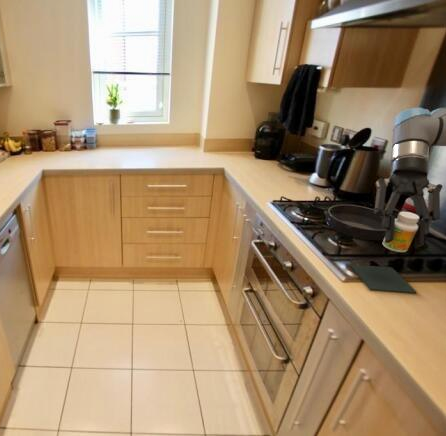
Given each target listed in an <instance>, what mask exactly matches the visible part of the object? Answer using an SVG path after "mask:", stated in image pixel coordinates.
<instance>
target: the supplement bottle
mask: <svg viewBox="0 0 446 436" xmlns="http://www.w3.org/2000/svg"><path fill="white" fill-rule="evenodd" d="M396 217H397V218H395V225H394V238H393V241H391V242H389V243H386V242H385V238H384V240H382V246H383V247H384V248H386V249H387V250H390V251H393V252H397V253H405V252H407V251H408V250H409V248H410V246H411V245H412V243H413V241H414V239H415V234H416V232H417V230H418V225H417V224H416V223H417V222H418V220H419V216H418V215H416V214H414V213H410V212H401V211H400V212H398V214H397V216H396Z"/></svg>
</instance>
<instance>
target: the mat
mask: <svg viewBox="0 0 446 436" xmlns="http://www.w3.org/2000/svg"><path fill="white" fill-rule="evenodd" d="M350 267H351V269H352V270H353V271H354V272H355V274H356V275H357V276H358V277H359V278H360V280H361V281H362V282H363V284H364V285H365V286H366V287H367V288H368V290H369V291H376V292H386V293H387V292H388V293H400V294H410V295H411V294H414V295H416V294H417V291H416V290H415V289H414V288H413V287H412V286H411V284H409V283H408V282H407V281H406V280H405V279H404V278H403V277H402V276H401V275H400V273H398V271H396V270H395V269H394V268H393V267H392V266H391V267H390V266H376V265H364V264H350Z"/></svg>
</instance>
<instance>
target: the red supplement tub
mask: <svg viewBox="0 0 446 436" xmlns="http://www.w3.org/2000/svg"><path fill="white" fill-rule="evenodd" d="M424 200H425V203H426V206H427V209H428V199H425V198H424ZM400 212H410V213H414V214H416V215H417V212H416V209H415V206H414V203H413V200H412V199H411V197H408V198H406V199H405V201H404V203H403V205H402V208H401V210H400ZM418 222H419V220H418Z"/></svg>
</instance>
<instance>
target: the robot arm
mask: <svg viewBox="0 0 446 436" xmlns="http://www.w3.org/2000/svg"><path fill="white" fill-rule="evenodd" d="M433 146H434V147H446V107H440V108H439V107H438V108H436V109H434V110H432V111H430V110H429V109H427V108H423V107H411V108H407V109H405V110H402V111H400V112H399V113H398V114H397V115H396V116H395V118H394V123H393V128H392V146H391V156H390V167H389V168H390V169H389V177H388V178H383V177H381V178H380V177H379V179H378V180H376V182H375V183H374V184H375V187H376V193H375V195H376V196H375V200H374V201H375V202H374V208H373V209H374V214H375V215H380V216H381V218H382V229H386V234H385V242H386V243H389V242H391V241H393V238H394V225H395V219H396V216H395V215H393V213H394V210H395V209H396V205H397V203H398V202H399V200H400V197H401V195H402V196H403V195H406V196H409V198H411V199H412V200H413V203H414V206H415V209H416V212H417V215H418V216H419V222H417V223H416V224H417V225H418V230H417V232H416V234H415V236H414V240H413V241H414V243H413V248H420V247H423V246H425V236H427V235H428V234H429V233H430V223H433V224H434V223H435V222H437V221H439V220H440V219H441V198H440V197H441V196H440V193H441V191H442V189H443V187H444V186H443V185H442V184H440V183H437V184H434V183H431V182H430V180H429V178H428V175H429V174H428V173H429V153H430V147H433ZM388 185H389V187H391V189H392V192H391V194H390V198H389V200H388V202H387V204H386V205H385V201H386V194H387V187H388ZM424 189H427V191H426V192H427V193H428V194H427V200H428V209H427V206H426V203H425V200H426V199H425V197H424V195H425V194H424ZM424 199H425V200H424Z"/></svg>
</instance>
